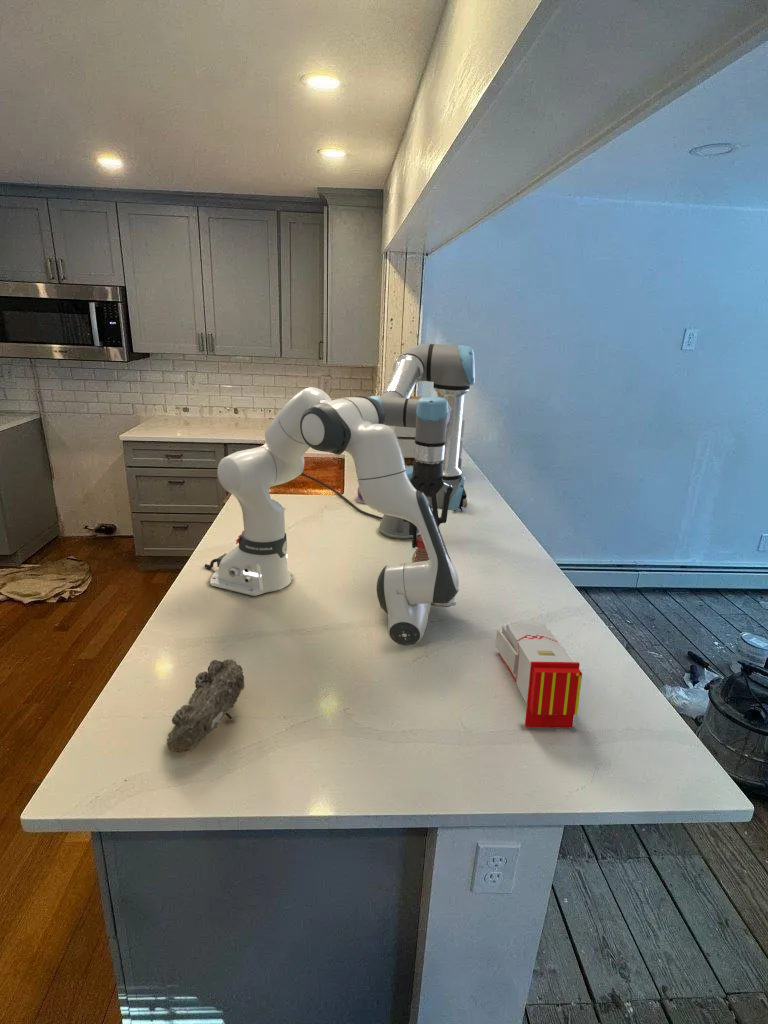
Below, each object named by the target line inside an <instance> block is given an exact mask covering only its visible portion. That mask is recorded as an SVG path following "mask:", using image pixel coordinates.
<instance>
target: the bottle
mask: <svg viewBox="0 0 768 1024" xmlns="http://www.w3.org/2000/svg"><path fill="white" fill-rule="evenodd" d="M428 560H429V556H428V553H427V550H426V549H420V548H417V547H416V548H415V551H414V553H413V554H412V557H411V563H413V562H421V561H428Z"/></svg>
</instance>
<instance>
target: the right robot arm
mask: <svg viewBox="0 0 768 1024" xmlns="http://www.w3.org/2000/svg"><path fill="white" fill-rule="evenodd" d="M474 352H475V351H474V349H473V348H472V347H471V346H467V345H460V344H440V343H439V344H438V343H421V344H420V343H419V344H417V345H415V346H412V347H410V348H407V349H406V350H404V351H403V352H402V353H400V354H399V356H397V358H396V359H395V361H394V363H393V367H392V374H391V376H390V378H389V379H388V382H387V383H386V385H385V387H384V389H383V390H382V393H381V395H371V396H369V397H370V398H373V399H375V400H377V401H378V402H379V403H380V404H381V406H382V407H383V410H384V413H385V425H387V426H398V427H409V428H416V434H415V447H414V458H415V460H414V462H413V466H405V467H406V472H407V476H408V478H409V480H410V482H411V484H412V485H413V486H414V488H415V489H416V490H418V491H421V492H423V493H424V494H425V496H426V498H427V499H428V501H429V503H430V506H431V508H432V511H433V513H434V516H435V519H436V521H437V524H438V527H439V528H440V525H441V524H446V523H447V519H448V514H449V512H448V511H454V510H455V511H456V510H458V507H459V504H460V500H461V496H462V492H463V488H464V489H465V487H464V486H465V483H466V477H465V476H462V475H463V474H462V469H461V470H460V469H459V468H458V458H459V447H460V439H461V438H460V436H461V425H462V419H463V414H464V413H463V412H464V402H465V401H464V400H465V395H466V394H467V393H468V392H469V391H470V388H471V386H474V385H475V383H476V364H475V363H476V362H475V353H474ZM419 382H431V383H433V385H432V386H433V390H434V391H435V392H436V393H437V395H436V396H420V397H421V398H420V399H410V396H411V395H412V393H413V391H414V388H415V387H416V384H417V383H419ZM300 476H303V477H305V478H308V479H310V480H312V481H315V482H316V483H318V484H320V485H322V486H324V487H326V488H327V489H328V490H330V491H332V492H333V493H335V495H338V496H339V497H340V498H341V499H342V500H344V501H345V502H346V503H347V504H349V505H350V506H352V508H353V509H355V510H356V511H357V512H359V513H361V514H363V515H366V516H369V517H371V518H375V519H378V520H381V522H379V526H378V533H379V534H380V535H381V536H382V537H385V538H387V539H389V540H395V541H410V540H411V541H412V542H411V547H412V549H417V547H416V537H419V536H421V534H420V531H419V529H418V528H417V527H416V526H415V525H414V524H413V523H411V522H410V521H407V520H405V519H402V518H398V517H394V516H390V515H385V514H382V516H379V515H376V514H373V513H369V512H367V511H364V510H362V509H360V508H359V507H357V506H356V505H355V504H354V503H353V502H351V501H350V500H349V499H347V497H345V496H344V495H342V494H341V493H340V492H339V491H337V490H336V489H334V488H333V487H332V486H330V485H328V484H326V483H324V482H323V481H321V480H319V479H317V478H315V477H313V476H310V475H308V474H306V473H303V472H302V473H301V475H300ZM439 510H441V513H440V514H441V515H440V516H439Z"/></svg>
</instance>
